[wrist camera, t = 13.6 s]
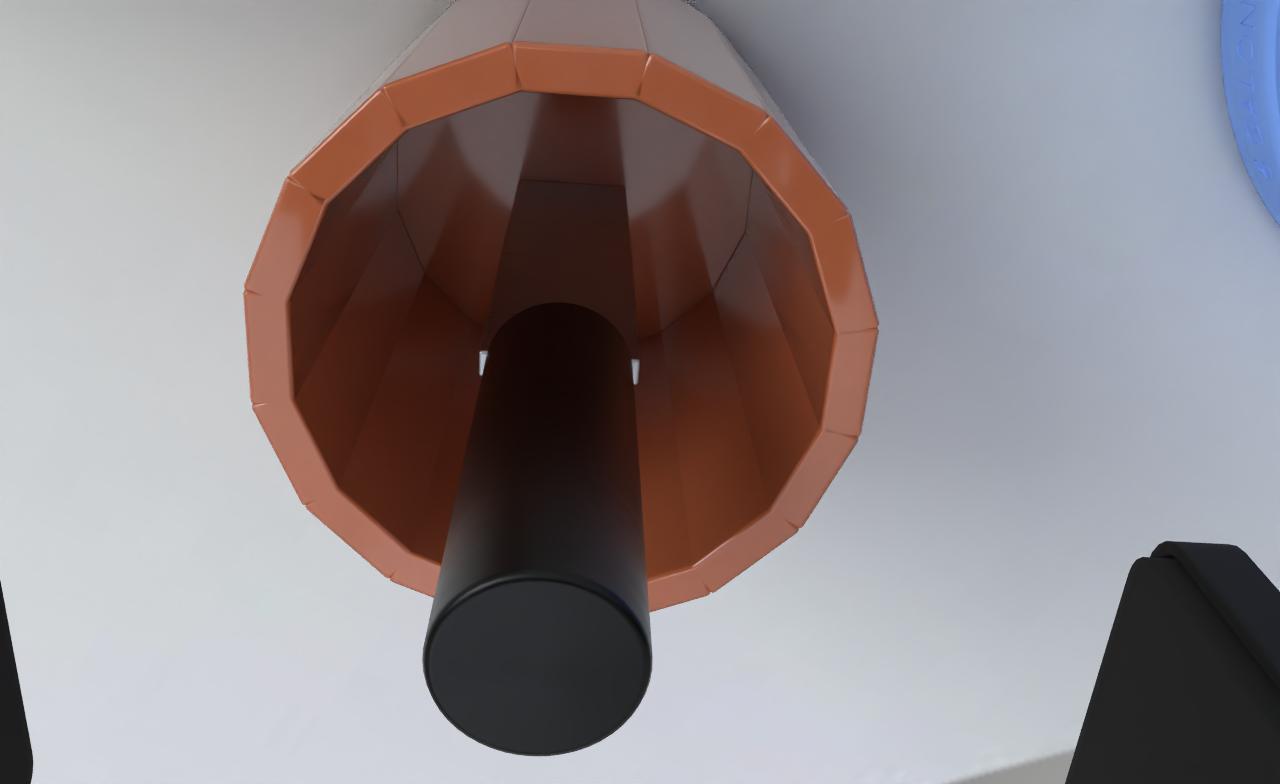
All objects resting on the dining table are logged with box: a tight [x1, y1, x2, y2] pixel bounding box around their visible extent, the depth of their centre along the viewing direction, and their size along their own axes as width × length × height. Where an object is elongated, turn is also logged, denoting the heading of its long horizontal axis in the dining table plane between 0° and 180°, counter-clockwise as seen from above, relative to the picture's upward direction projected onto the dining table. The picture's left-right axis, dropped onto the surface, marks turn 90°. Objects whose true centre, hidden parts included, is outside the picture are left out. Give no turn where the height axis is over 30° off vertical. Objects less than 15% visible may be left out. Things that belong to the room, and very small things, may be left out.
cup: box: [243, 0, 879, 612], centre depth 20 cm, size 8×8×10 cm
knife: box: [422, 180, 652, 756], centre depth 17 cm, size 2×2×16 cm
